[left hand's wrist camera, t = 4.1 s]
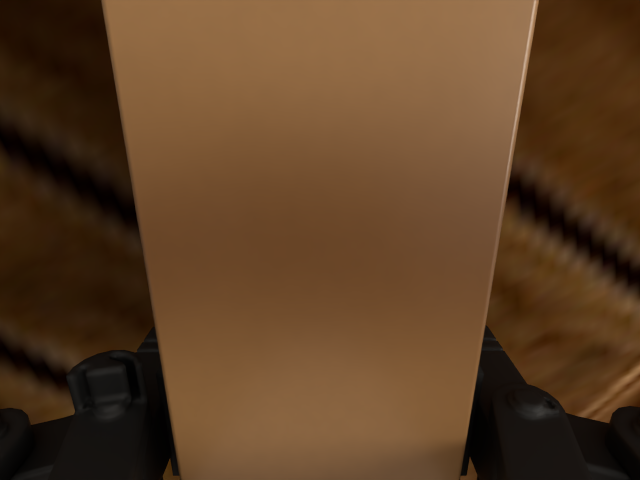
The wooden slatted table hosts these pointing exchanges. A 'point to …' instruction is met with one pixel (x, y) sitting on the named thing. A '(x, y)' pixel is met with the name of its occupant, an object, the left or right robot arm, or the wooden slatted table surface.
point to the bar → (319, 222)
